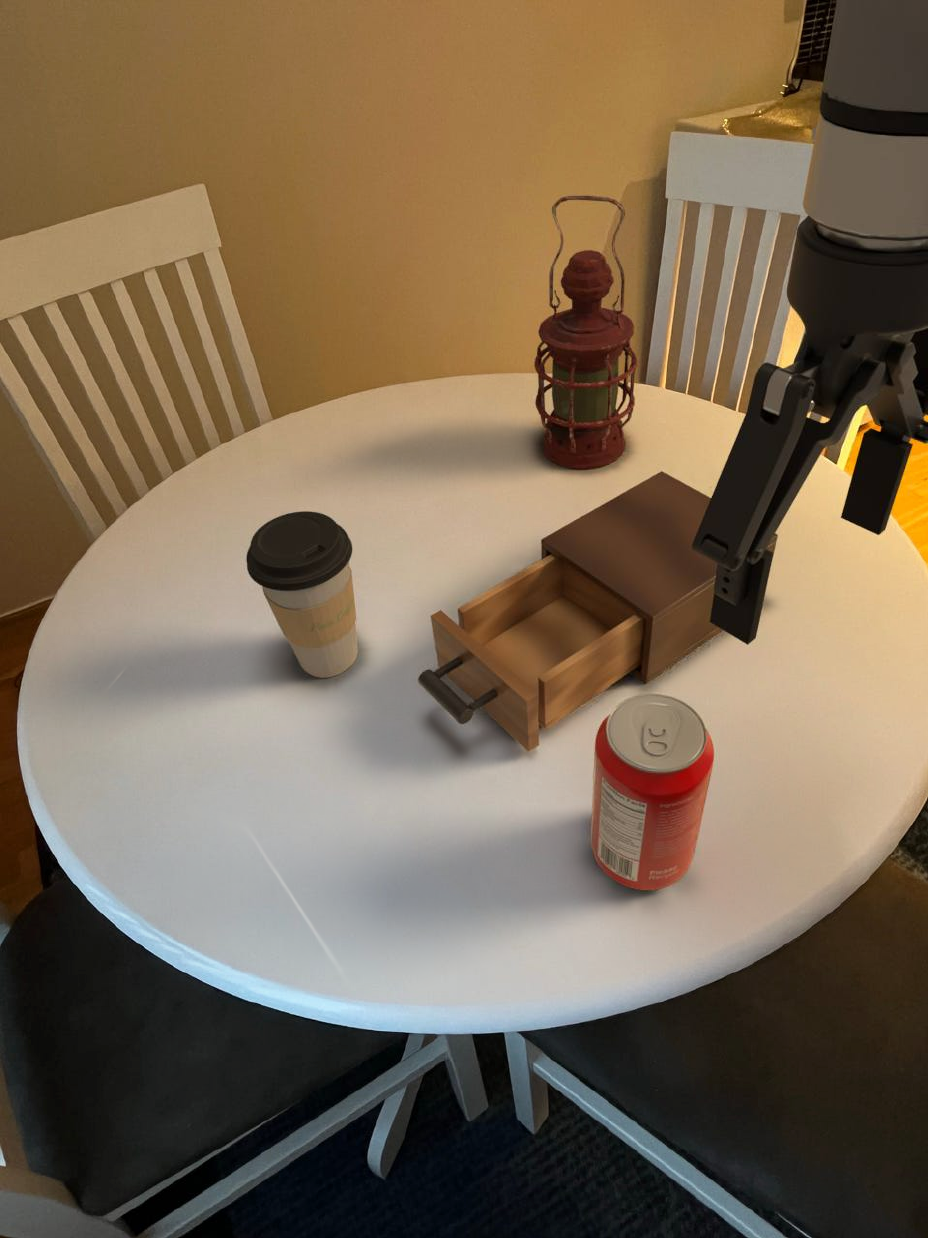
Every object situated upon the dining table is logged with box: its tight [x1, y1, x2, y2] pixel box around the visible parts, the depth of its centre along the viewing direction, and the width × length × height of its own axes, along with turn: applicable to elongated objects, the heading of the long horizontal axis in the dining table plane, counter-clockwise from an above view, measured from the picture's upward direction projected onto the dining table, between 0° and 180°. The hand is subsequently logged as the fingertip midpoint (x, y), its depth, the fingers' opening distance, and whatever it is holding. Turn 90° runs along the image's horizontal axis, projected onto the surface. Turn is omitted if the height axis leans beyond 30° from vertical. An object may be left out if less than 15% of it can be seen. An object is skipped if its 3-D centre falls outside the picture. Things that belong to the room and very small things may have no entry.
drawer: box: [417, 554, 646, 753], centre depth 75 cm, size 20×13×7 cm
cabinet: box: [540, 470, 779, 684], centre depth 82 cm, size 17×15×9 cm
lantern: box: [533, 195, 638, 470], centre depth 96 cm, size 12×12×30 cm
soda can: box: [590, 693, 715, 891], centre depth 60 cm, size 8×8×15 cm
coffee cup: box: [245, 510, 359, 679], centre depth 78 cm, size 9×9×15 cm
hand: (800, 574), depth 52 cm, fingers open, 13 cm apart
